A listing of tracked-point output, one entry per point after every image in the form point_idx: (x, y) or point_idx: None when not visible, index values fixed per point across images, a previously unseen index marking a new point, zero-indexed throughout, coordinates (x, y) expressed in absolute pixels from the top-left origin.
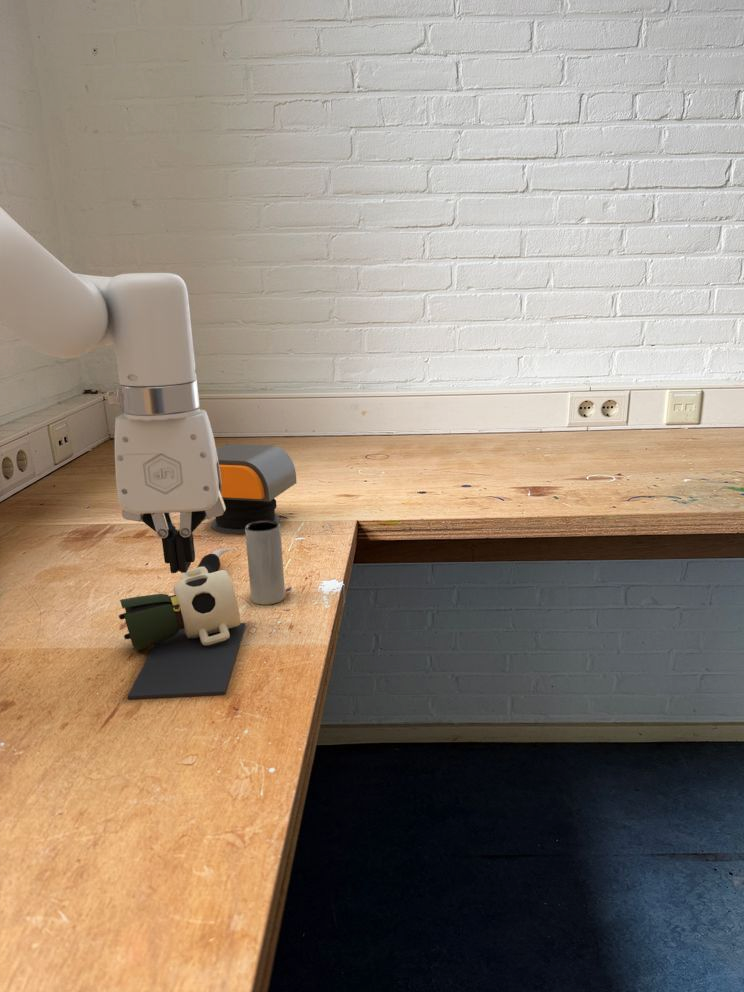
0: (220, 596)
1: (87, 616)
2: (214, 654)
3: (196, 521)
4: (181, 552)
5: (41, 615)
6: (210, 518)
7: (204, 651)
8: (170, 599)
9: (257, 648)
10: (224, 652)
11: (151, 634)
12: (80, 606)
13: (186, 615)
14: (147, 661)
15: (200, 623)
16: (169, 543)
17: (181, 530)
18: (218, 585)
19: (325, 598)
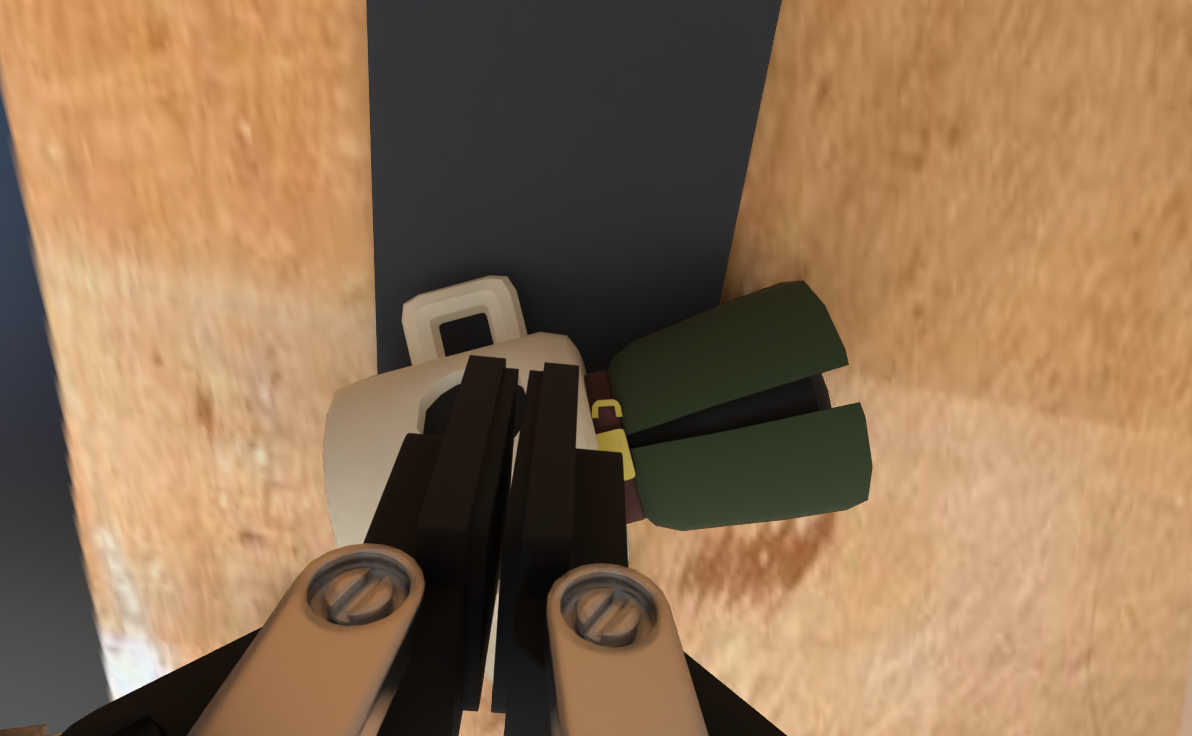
0: (390, 435)
1: (942, 613)
2: (462, 218)
3: (192, 705)
4: (457, 437)
5: (1088, 644)
6: (5, 729)
7: (506, 254)
8: (636, 466)
9: (303, 260)
10: (422, 227)
11: (717, 311)
12: (962, 679)
13: (560, 361)
14: (729, 213)
15: (506, 342)
16: (548, 504)
17: (399, 614)
18: None
19: (127, 594)
